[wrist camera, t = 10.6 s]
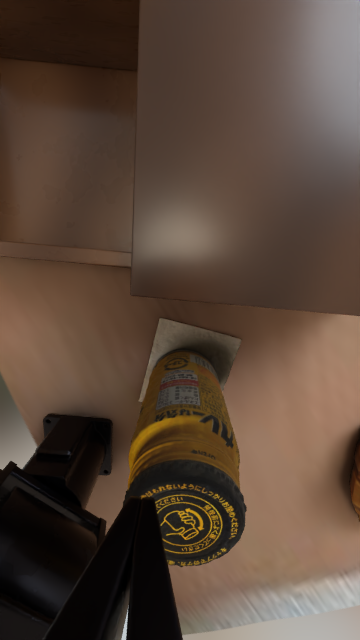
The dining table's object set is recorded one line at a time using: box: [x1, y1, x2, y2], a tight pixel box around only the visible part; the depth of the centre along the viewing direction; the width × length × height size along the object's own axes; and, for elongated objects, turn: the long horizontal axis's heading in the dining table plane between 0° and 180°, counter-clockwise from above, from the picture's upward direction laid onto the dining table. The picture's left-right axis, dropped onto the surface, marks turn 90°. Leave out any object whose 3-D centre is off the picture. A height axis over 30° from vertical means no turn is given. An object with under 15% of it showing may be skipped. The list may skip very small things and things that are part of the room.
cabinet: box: [130, 0, 360, 316], centre depth 13 cm, size 17×15×8 cm
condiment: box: [123, 318, 246, 567], centre depth 15 cm, size 7×8×12 cm
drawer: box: [0, 0, 140, 268], centre depth 13 cm, size 20×13×6 cm, turn 85°
